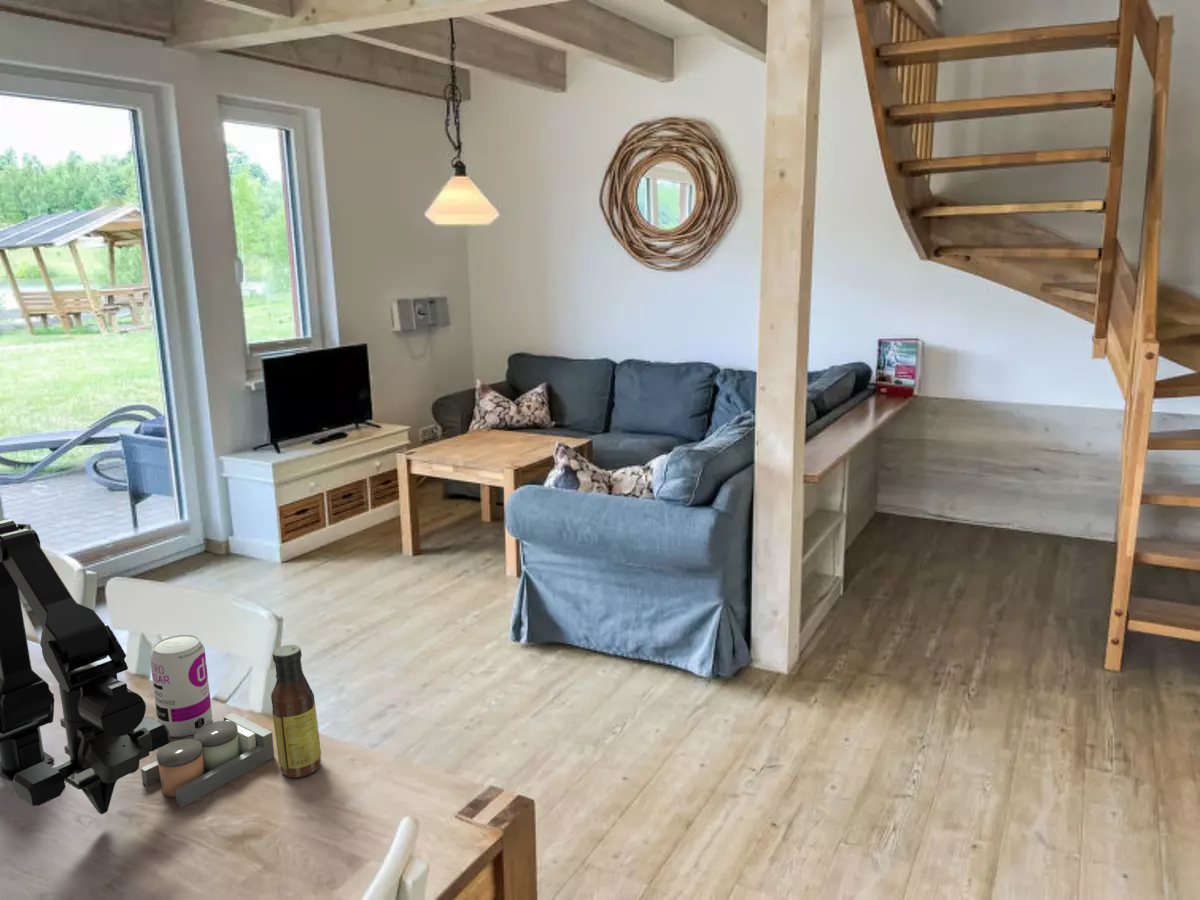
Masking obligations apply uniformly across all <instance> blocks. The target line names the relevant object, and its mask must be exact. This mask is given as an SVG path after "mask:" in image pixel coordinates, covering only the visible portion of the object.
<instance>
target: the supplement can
mask: <svg viewBox="0 0 1200 900" xmlns="http://www.w3.org/2000/svg"><path fill="white" fill-rule="evenodd" d="M206 657H207V656H206V649H205V646H204V644H203V642H201V640H200V638H199V637H198V636H196V635H194V634H193V635H192V634H178V635H172V636H168V637H165V638H163V639H160V640H159V641H157V642H156V643H154V644H153V647H152V651H151V654H150V655H149V662H150V672H151V677H152V678H151V679H152V687H153V694H154V702H155V711H156V717H157V721H158V722H160V723H162V724H164V725H166V726H167V728H168V730H169V735H170V738H171V737H173V738H182V737H183V738H184V737H188V735H189V736H192V735H194V733H195V732H196V731H197V730H198V729H199V728H200V727H202V726H204V725H206V724H209V723H212V719H213V711H212V702H211V694H210V693H211V692H210V684H209V677H208V668H207V667H208V664H207V658H206Z"/></svg>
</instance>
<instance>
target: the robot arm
mask: <svg viewBox="0 0 1200 900" xmlns="http://www.w3.org/2000/svg"><path fill="white" fill-rule="evenodd" d="M41 546H42V545H41V540H40V537H39V535H38V533H37V532H36V530H35V529H33V528H32V526H31V524H30V523H27V524H26V523H16V522H15V521H14V520H13V519H11V518H5V519H1V520H0V775H1V776H2V777H4V778H6V779H7V780H8V781H12V784H11V785H12V788H13V793H14V795H16V796H18V797H19V798H20V799H22V800H24V802H26V803H28V804H29V805H30V806H32V807H38V806H42V805H43V804H46V803H48V802H49V801H50V802H51V801H52V800H54V799H56V798H59V797H60V796H61V795H62V794H63V792H64V790H65V789H66V783H67V784H69V785H71V786H72V787H74V788H76V790H81V791H82V792H83V793H84V795H85V797H87V799H88V801H90V803H91V804H92V806H93V807H94V809H95V811H97V813H99V814H100V815H104V814H106V813H107V812H108V810H109V807H110V803H111V800H112V797H113V793H114V788H115V785H116V784H117V781H118V780H120V779H122V778H123V777H125V776H128V775H129V774H134V773H135V772H137V771H138V770H139V767H140V761H141V760H143V759H145V758H147V757H149V756H150V752H154V751H156V750H159V749H160V748H162V747H163V746H165V745H166V744H169V743H171V736H170V735H169V730H168V728H167V726H166V725H164V724H162V723H160V722H158V720H156V719H154V718H152V717H151V716H148V715H146V711H147V710H146V709H147V708H146V707H147V706H146V702H145V700H144V699H143V697H142V696H141V695H140V694H138V693H136V692H135V691H134V690H132V689H130V688H128V684H127V683H126V682H125V681H123V680H119V679H118V674H120V673H122V672H125V671H127V670H128V669H129V667H128V665H127V662H126V657H127V654H126V652H125V651H124V649H123V647H122V645H121V644H120V642H119V641H118V639H117V637H116V635H115V633H114V632H113V630H112V629H111V628H110V626H109V625H108V624H107V623H105V622H104V621H103V620H102V619H101V618H100V617H99V615H98V614H97V612H96V611H95V610H94V609H92V608H90V607H88V606H85V605H83V604H80V603H77V601H76V600H75V599H74V598H73V596H72V594H71V593H70V591H69V589H68V588H67V587H66V585H65V583H64V582H63V580H62V579H61V577H60V576H59V574H58V573H57V570H56V569H55V568H54V566H53V564H52V563H51V561H50V560H49V558H48V557H47V555H46V553H45V552H44V551H43V549H42V547H41ZM20 593H21V594H22V597H23V598H24V599H25V601H26V603H27V605H28V606H29V608H30V610H31V611H32V614H34V616H35V617H36V619H37V621H38V623H39V625H40V627H41V629H42V631H41V637H40V642H39V645H40V648H41V654H42V657H43V660H44V662H45V664H46V666H47V667H48V669H49V670H50V672H51V674H52V675H53V677H54V678H55V680H56V681H57V683H58V686H59V688H58V689H59V694H60V699H61V700H60V701H61V708H62V714H63V717H62V718H59V721H60V726H61V727H62V728H64V729H65V734H66V739H67V744H66V745H65V746H64V753H65V754H66V755H68V756H69V760H67V761H65V762H62V763H61V764H58V765H56V766H52V765H50V764H53V763H54V762H55V758H54V756H52V755H50V754H48V753H47V752H46V751H44V745H43V738H42V733H41V727H42V726H46V725H47V724H51V723H53V722H54V715H55V698H54V697H55V695H54V693H53V692H52V691H51V689H50V685H49V683H48V682H47V681H45V679H43V678H42V677H41V676H39V675H38V674H37V673H36V672H35V671H34V670H33V668H32V664H31V663H32V661H31V658H30V650H29V645H28V639H27V638H28V637H27V632H26V626H25V620H24V615H23V609H22V602H21V596H20ZM107 657H109V659H110V660H108V661H104V662H103V663H99V664H97V665H92V664H95V663H96V662H99V661H101V660H104V659H107Z"/></svg>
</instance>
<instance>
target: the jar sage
mask: <svg viewBox="0 0 1200 900" xmlns="http://www.w3.org/2000/svg"><path fill="white" fill-rule="evenodd" d="M193 735H194V736H193V737H194V738H193V739H195V740H198V741H200V742H201V744H202V749H203V752H202V755H203V764H204V772H205V773H207V772H209V771H211V770H213V769H215V768H217V767H219V766H221V765H223V764H225V763H226V762H228V761H230V760H232V759H234V758H236V757H238V756H240V753H239V743H238V727H237V725H236V724H235V723H234V722H230V721H224V720H218V721H213V722H212V721H211V722H210V723H209V724H206V725H204V726H202V727H200V728H199V729H198V730H197V731H196V732H195V734H193Z"/></svg>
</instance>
